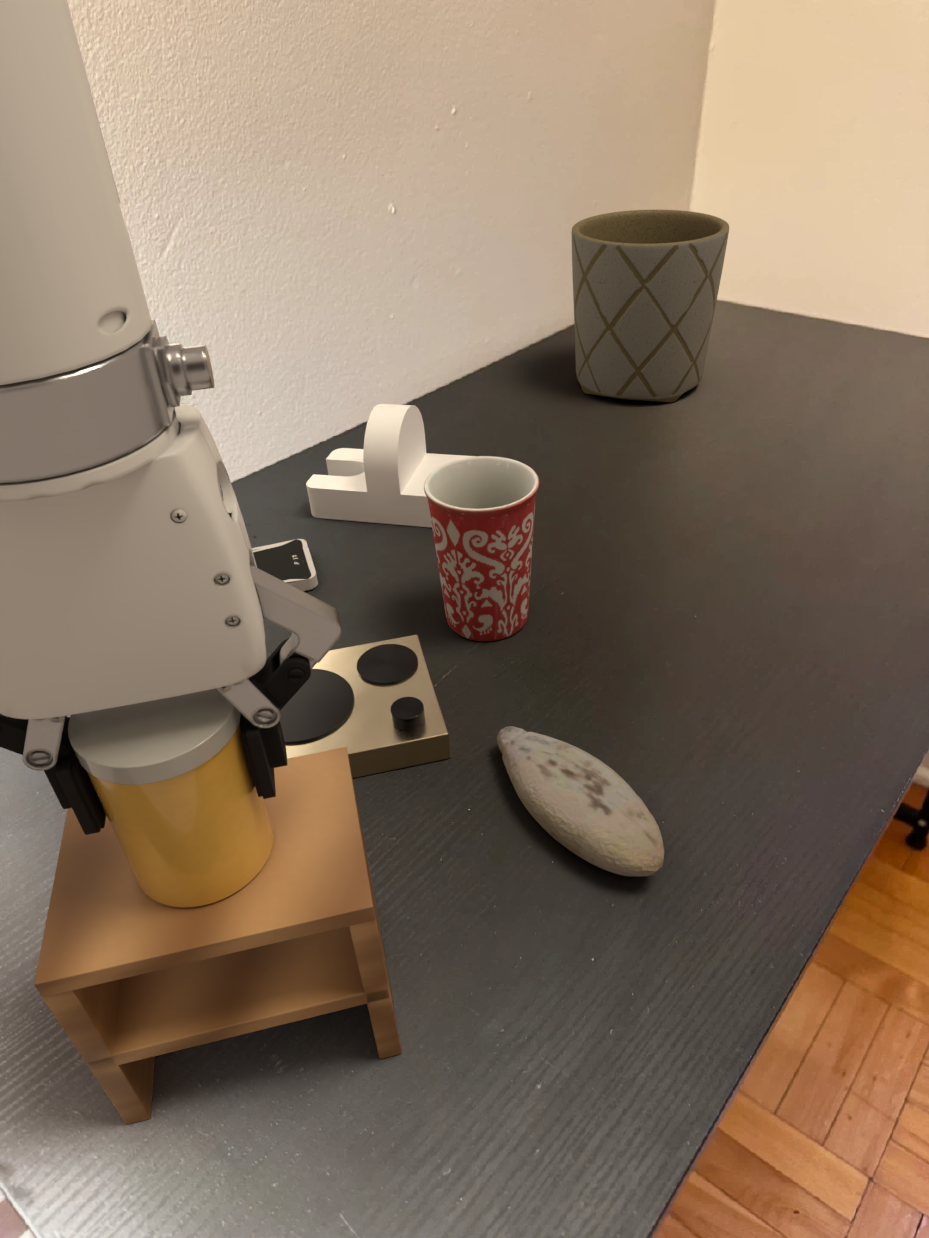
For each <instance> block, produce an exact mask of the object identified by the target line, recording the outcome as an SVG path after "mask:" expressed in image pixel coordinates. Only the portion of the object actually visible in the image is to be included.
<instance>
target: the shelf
mask: <svg viewBox="0 0 929 1238" xmlns="http://www.w3.org/2000/svg"><path fill="white" fill-rule="evenodd" d="M287 763H288V765H287V766H282V767H277V768H274V775H275V790H276V797H272V798H267V799H265V800H266V803H267V807H268V810H269V814H270V818H271V821H272V825H273V830H274V841H273V846H272V850H271V853H270V855H269V857H268V859H267V861H266V863H265V865H264V866H263V868H262V869H261V871H260V872H259V873H258V874H257V875H256V876H255V878H253V879H252V880H251V881H250V882H249V883H248V884H247V885H246V886H244V887H243V888H242V889H240V890H239V891H237V892H236V893H234V894H232V895H231V896H229V897H227V898H224V899H222V900H220V901H217V902H215V903H211V904H208V905H204V906H198V907H187V908H182V907H173V906H167V905H164V904H161V903H159V902H157V901H155V900H153V899H151V898H150V897H149V896H147V895H146V894H145V893H144V892H143V891H142V890H141V889H140V887H139V885H138V884H137V882H136V879H135V877H134V875H133V873H132V871H131V868H130V866H129V864H128V862H127V860H126V857H125V855H124V853H123V851H122V849H121V846H120V844H119V842H118V840H117V838H116V835H115V833H114V831H113V829H112V827H111V824H110V822H109V820H108V818H107V816H106V820H105V827H104V828H102V829H101V830H100V832H99V833H94V834H89V835H85V834H84V832H83V830H82V828H81V826H80V823H79V821H78V819H77V817H76V815H75V813H74V811H73V809H72V808H68V809H66V814H65V815H66V816H65V820H64V826H63V831H62V836H61V842H60V847H59V853H58V857H57V862H56V868H55V873H54V877H53V878H54V879H53V883H52V889H51V893H50V899H49V905H48V909H47V914H46V920H45V924H44V925H45V926H44V930H43V936H42V940H41V946H40V952H39V957H38V961H37V966H36V970H35V971H36V972H35V978H34V982H33V986H34V987H35V989H36V990H37V992H38V993H39V995H40V996H41V998H42V999H43V1001H44V1002H45V1004H46V1005H47V1007H48V1008H49V1010H50V1012H51V1013H52V1015H53V1016H54V1017H55V1019H56V1020H57V1022H58V1023H59V1025H60V1027H61V1028H62V1029H63V1031H64V1033H65V1034H66V1035H67V1037H68V1038H69V1040H70V1042H71V1044H72V1045H73V1046H74V1048H75V1050H77V1052H78V1053H79V1056H81V1058H82V1060H83V1061H84V1063H85V1064H86V1065H87V1067H88V1069H89V1070H90V1071H91V1074H93V1076H94V1078H95V1080H97V1082H98V1083H99V1085H100V1087H101V1088H102V1090H103V1091H104V1093H105V1094H106V1096H107V1098H109V1101H110V1102H111V1103H112V1105H113V1106H114V1108H115V1110H116V1111H117V1112H118V1114H119V1115H120V1117H121V1118H122V1120H123V1121H124V1123H125V1124H126V1125H131V1124H135V1123H139V1122H143V1121H146V1120H150V1119H152V1109H153V1108H152V1107H153V1092H154V1078H155V1061H156V1056H157V1057H158V1056H162V1055H165V1054H169V1053H173V1052H177V1051H182V1050H185V1049H190V1048H193V1047H197V1046H201V1045H205V1044H210V1043H215V1042H218V1041H222V1040H225V1039H226V1040H227V1039H230V1038H234V1037H239V1036H242V1035H247V1034H251V1033H254V1032H258V1031H263V1030H267V1029H271V1028H275V1027H278V1026H283V1025H287V1024H291V1023H294V1022H299V1021H302V1020H306V1019H310V1018H315V1017H318V1016H322V1015H327V1014H330V1013H334V1012H339V1011H343V1010H348V1009H351V1008H355V1007H359V1006H364V1005H366V1006H367V1011H368V1015H369V1020H370V1025H371V1028H372V1033H373V1037H374V1041H375V1045H376V1050H377V1054H378V1058H379V1060H383V1059H386V1058H390V1057H393V1056H397V1055H401V1054H402V1053H403V1050H402V1043H401V1038H400V1033H399V1026H398V1022H397V1014H396V1009H395V1004H394V999H393V992H392V986H391V981H390V975H389V969H388V963H387V957H386V952H385V946H384V940H383V935H382V928H381V922H380V917H379V911H378V905H377V899H376V893H375V888H374V884H373V883H374V882H373V878H372V873H371V868H370V862H369V857H368V853H367V846H366V841H365V835H364V831H363V826H362V820H361V814H360V809H359V805H358V799H357V795H356V790H355V789H356V788H355V784H354V778H352V773H351V768H350V762H349V757H348V752H347V747H343V748H338V749H333V750H328V751H323V752H318V753H313V754H308V755H303V756H298V757H293V758H288V759H287Z"/></svg>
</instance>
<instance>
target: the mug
mask: <svg viewBox="0 0 929 1238" xmlns="http://www.w3.org/2000/svg"><path fill="white" fill-rule="evenodd" d="M475 456H476V457H468V458H463V459H458V460H455V461H451V462H449V463H446V464H444V465H442V466H440V467H438V468H437V469H435V470H434V471H433V472H432V473H430V474H429V476H428V477H427V478H426V480H425V483H424V492H425V495H426V496H427V498H428V504H429V510H430V516H431V523H432V527H431V528H432V535H433V542H434V548H435V553H436V560H437V561H436V562H437V568H438V575H439V581H440V586H441V592H442V599H443V605H444V613H445V617H446V623H447V625H448V626H449V628H450V629H451V630H452V631H453V632H454V633H455V634H457V635H459V636H460V637H462V638H465V639H467V640H471V641H476V642H495V641H501V640H504V639H507V638H509V637H511V636H514V635H515V634H517V633H518V632H519V631H520V630H521V629H522V628H524V626H525V625H526V623H527V621H528V617H529V611H530V610H529V608H530V591H531V590H530V589H531V575H532V559H533V558H532V557H533V542H534V528H535V513H536V511H535V510H536V495H537V491H538V489H539V487H540V479H539V475H538V474H537V472H536V471H535V470H534V469H533V468H532V467H530V466H529V465H527V464H526V463H523V462H521V461H519V460H516V459H512V458H508V457H503V456H492V455H478V456H477V455H475Z"/></svg>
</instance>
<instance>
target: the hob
mask: <svg viewBox="0 0 929 1238" xmlns="http://www.w3.org/2000/svg"><path fill="white" fill-rule="evenodd" d="M280 715H281V717H280V723H281V727H282V731H283V735H284V740H285V745H286V752H287V759H288V758H293V757H298V756H303V755H308V754H313V753H318V752H323V751H328V750H333V749H338V748H343V747H347V752H348V757H349V762H350V768H351V773H352V778H353V779H356V778H361V777H367V776H370V775H376V774H379V773H385V772H390V771H394V770H400V769H404V768H409V767H414V766H419V765H424V764H428V763H433V762H437V761H442V760H448V759H451V748H450V747H451V746H450V736H449V731H448V729H447V728H448V727H447V724H446V721H445V718H444V715H443V711H442V709H441V706H440V702H439V698H438V696H437V692H436V690H435V686H434V683H433V679H432V677H431V673H430V670H429V667H428V664H427V661H426V656H425V654H424V651H423V647H422V645H421V641H420V638H419V635H418V634H412V635H406V636H401V637H396V638H389V639H385V640H379V641H374V642H368V643H363V644H357V645H352V646H346V647H341V648H334V649H330V650H329V651H328V653H327V654H326V655H325V656H324V657H323V659H322V660H321V661H320V662H319V663H316V665H315V666H314V667H313V668H312V669H311V676H310V678H309V679H308V680H307V682H306V683H305V684H304V685H303V686H302V687H301V688H300V689H299V690H298V691H297V693H296V694H295V695H294V696H293V697H292V698H291V699H290V700H289V701H288V703H287V704H286V705H285V706H284V707H283V708H282V709H281V710H280Z"/></svg>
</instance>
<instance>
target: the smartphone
mask: <svg viewBox="0 0 929 1238" xmlns="http://www.w3.org/2000/svg"><path fill="white" fill-rule="evenodd" d="M252 551H253V554H254V558H255V562H256V565H257V568H258V569H260V570H262V571H264V572H266V573H268V574H270V575H272V576H274V577H276V578H278V579H280V580H282V581H284V582H286V583H288V584H290V585H292V586H294V587H296V588H298V589H299V590H301V591H303V592H307V591H312V590H314V589H316V588H317V587H318V585H319V580H318V576H317V571H316V567H315V564H314V562H313V561H314V560H313V558H312V554H311V551H310V548H309V546H308V543H307V540H306V539H303V538H295V539H290V540H286V541H281V542H276V543H272V544H266V545H262V546H257V547H256V546H255V547H252Z"/></svg>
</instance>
